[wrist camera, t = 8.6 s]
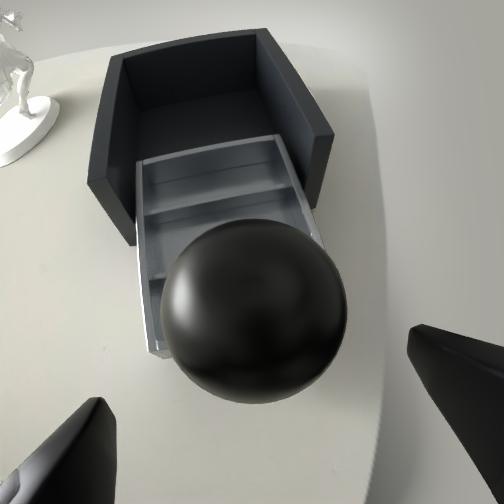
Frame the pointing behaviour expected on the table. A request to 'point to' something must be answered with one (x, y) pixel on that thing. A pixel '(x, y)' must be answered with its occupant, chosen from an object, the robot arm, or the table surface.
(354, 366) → the table surface
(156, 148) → the grey drawer case
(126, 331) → the table surface
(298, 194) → the pull-out drawer
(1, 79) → the figurine
